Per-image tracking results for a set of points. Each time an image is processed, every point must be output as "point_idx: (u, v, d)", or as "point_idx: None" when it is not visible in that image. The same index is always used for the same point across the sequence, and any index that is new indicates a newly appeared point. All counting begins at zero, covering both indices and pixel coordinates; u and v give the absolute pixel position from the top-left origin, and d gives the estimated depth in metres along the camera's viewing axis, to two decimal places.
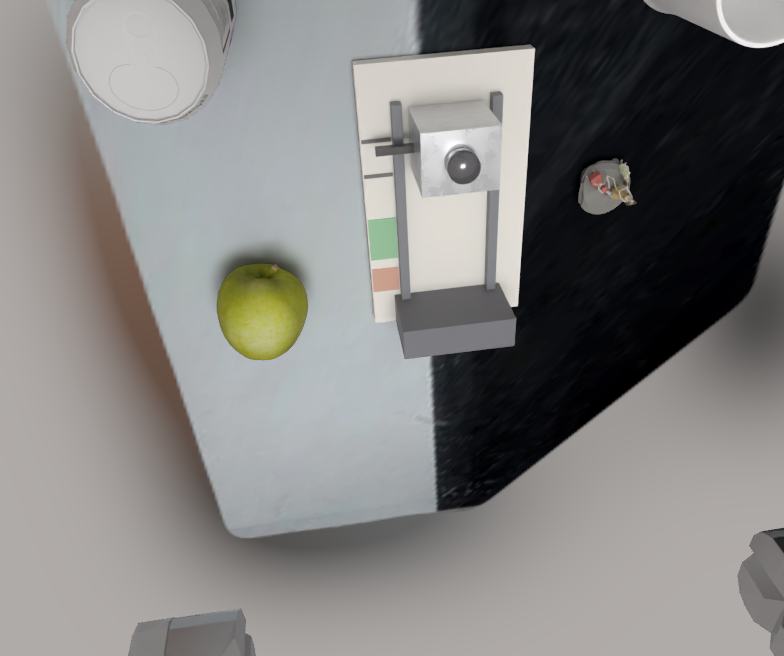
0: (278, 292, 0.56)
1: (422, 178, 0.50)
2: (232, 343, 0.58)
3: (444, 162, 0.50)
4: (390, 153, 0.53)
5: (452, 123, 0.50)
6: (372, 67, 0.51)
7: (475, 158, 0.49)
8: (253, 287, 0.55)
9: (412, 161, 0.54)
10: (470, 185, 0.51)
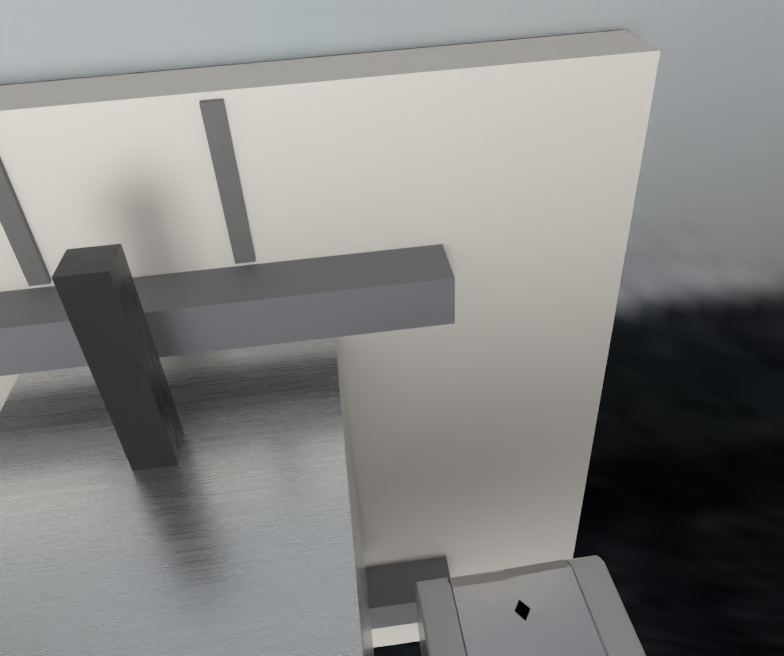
0: None
1: None
2: None
3: None
4: (99, 360, 0.08)
5: None
6: (623, 154, 0.10)
7: None
8: None
9: (64, 420, 0.10)
10: None
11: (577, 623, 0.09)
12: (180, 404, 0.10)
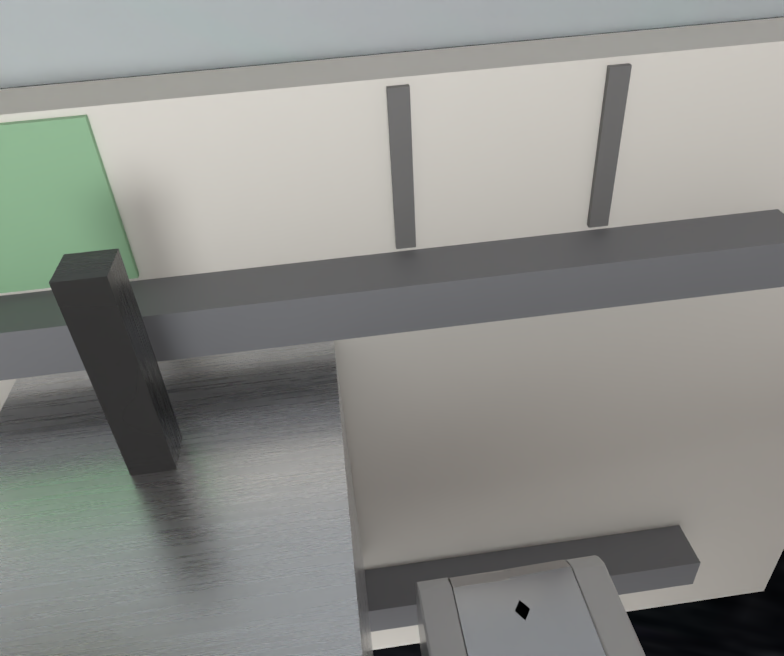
0: None
1: None
2: None
3: None
4: (97, 365, 0.08)
5: None
6: None
7: None
8: None
9: (62, 425, 0.10)
10: None
11: (577, 623, 0.09)
12: (178, 408, 0.10)
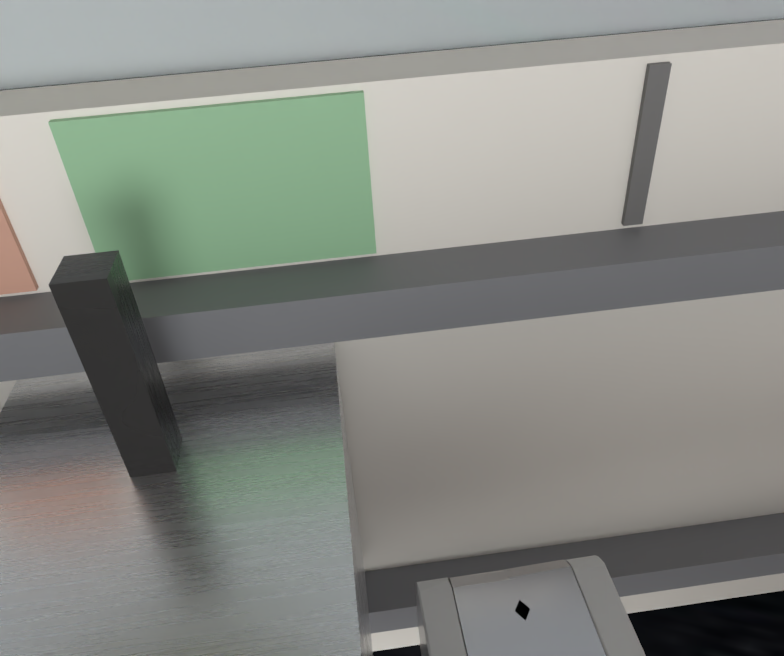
0: None
1: None
2: None
3: None
4: (97, 367, 0.08)
5: None
6: None
7: None
8: None
9: (62, 426, 0.10)
10: None
11: (577, 623, 0.09)
12: (178, 410, 0.10)
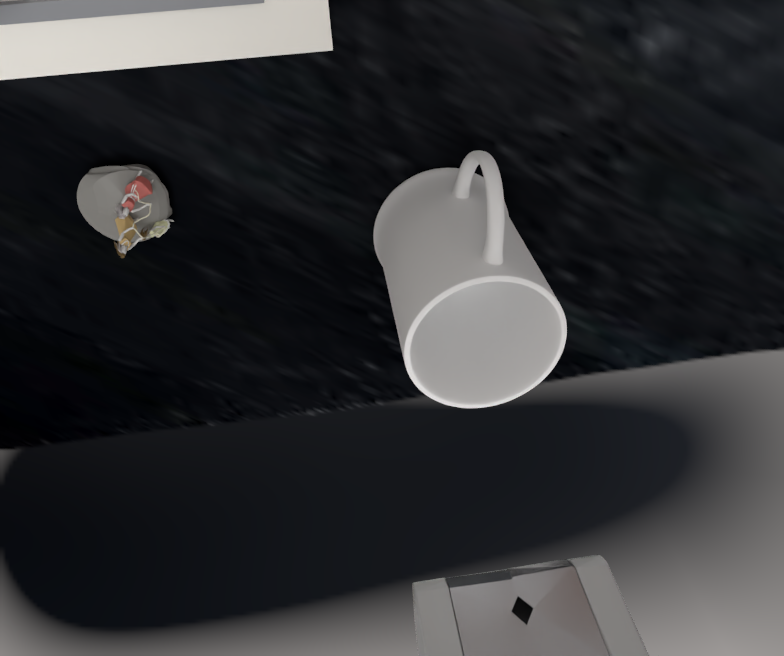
0: None
1: None
2: None
3: None
4: None
5: None
6: None
7: None
8: None
9: None
10: None
11: (580, 623, 0.09)
12: None
